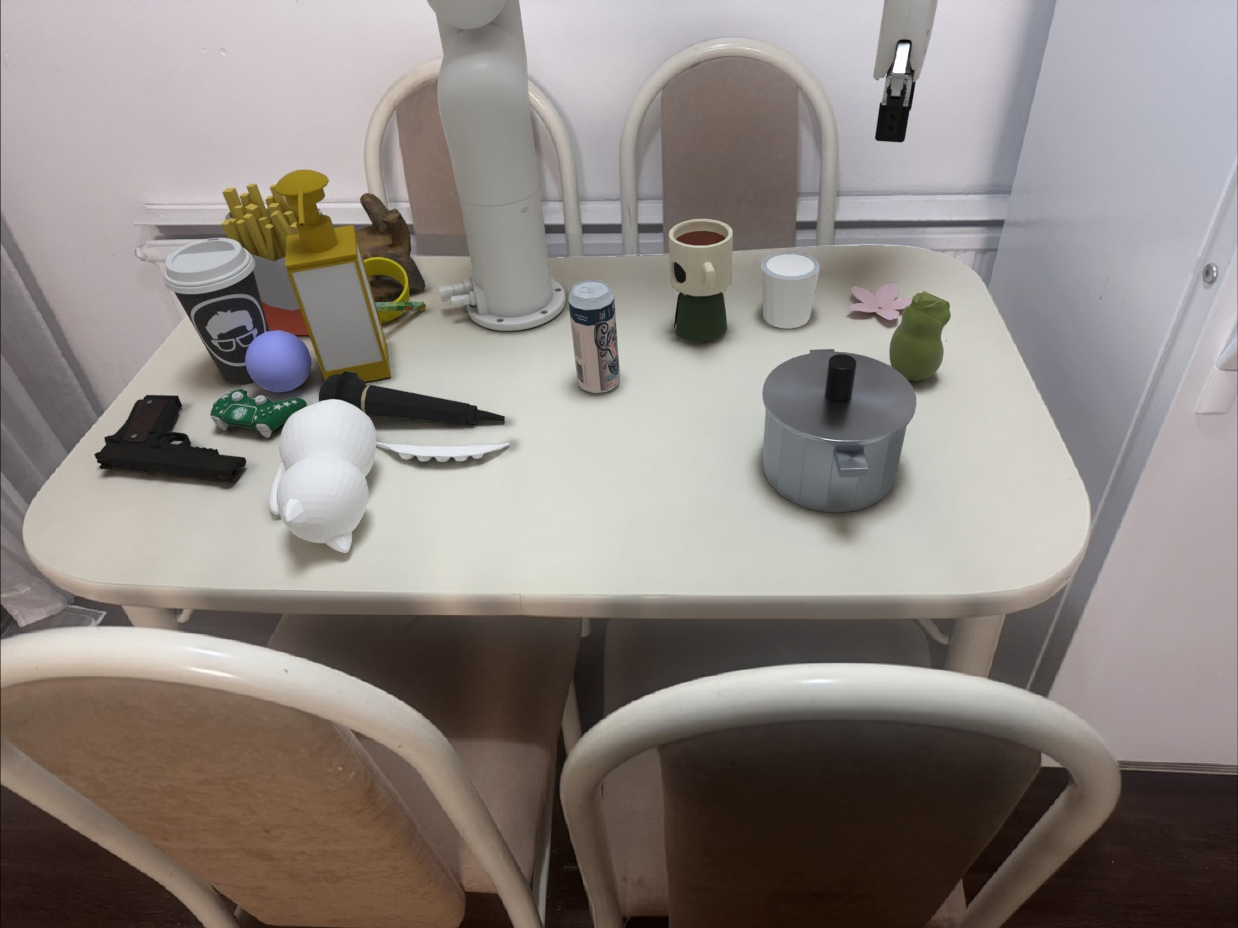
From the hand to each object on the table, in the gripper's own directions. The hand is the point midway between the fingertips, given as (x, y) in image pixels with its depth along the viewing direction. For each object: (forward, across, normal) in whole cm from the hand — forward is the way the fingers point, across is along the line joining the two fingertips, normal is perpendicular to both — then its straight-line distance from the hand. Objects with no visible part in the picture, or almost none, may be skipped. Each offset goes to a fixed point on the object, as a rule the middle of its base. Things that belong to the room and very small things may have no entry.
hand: (893, 124), depth 99 cm
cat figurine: (+15, +50, -48) cm, 71 cm away
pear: (+19, +22, +7) cm, 30 cm away
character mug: (+19, +19, -18) cm, 32 cm away
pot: (+19, +39, 0) cm, 44 cm away
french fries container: (+19, +29, -67) cm, 75 cm away
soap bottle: (+19, +37, -54) cm, 68 cm away
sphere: (+18, +38, -61) cm, 74 cm away
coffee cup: (+20, +38, -68) cm, 81 cm away
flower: (+19, +8, +2) cm, 21 cm away
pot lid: (+11, +39, 0) cm, 41 cm away
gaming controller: (+17, +44, -61) cm, 77 cm away
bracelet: (+14, +24, -58) cm, 64 cm away
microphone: (+19, +40, -34) cm, 56 cm away
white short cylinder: (+19, +13, -9) cm, 25 cm away
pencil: (+10, +37, -56) cm, 68 cm away
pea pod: (+18, +47, -39) cm, 64 cm away
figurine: (+19, +9, -75) cm, 78 cm away
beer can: (+19, +31, -26) cm, 45 cm away
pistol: (+19, +46, -67) cm, 83 cm away
